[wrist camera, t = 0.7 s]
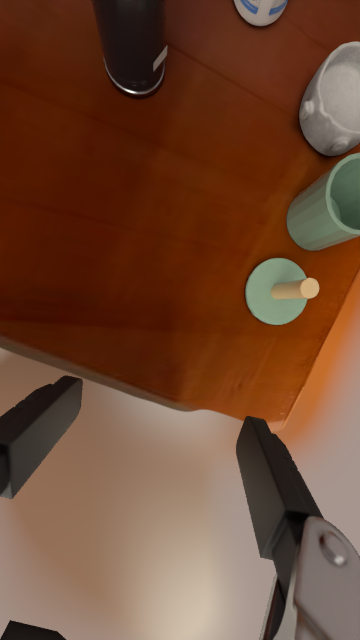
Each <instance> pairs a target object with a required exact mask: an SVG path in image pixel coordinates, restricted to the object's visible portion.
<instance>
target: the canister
mask: <svg viewBox="0 0 360 640" xmlns="http://www.w3.org/2000/svg"><path fill="white" fill-rule="evenodd" d="M287 228H288V231H289V234H290V236H291V238H292V239H293V241H294V242H295V243H296V244H297V245H298V246H300V247H302V248H304V249H306V250H311V251H317V250H321V249H325V248H328V247H331V246H334V245H337V244H340V243H342V242H345V241H348V240H351V239H354V238H357V237H360V153H357V154H352V155H349V156H347V157H346V158H344V159H343V160H341V161H339V162H338V163H337V164H336V165H334V166H333V167H332V168H331V169H329V170H328V171H327V172H326V173H324V174H323V175H322V176H321V177H319V178H318V179H317V180H316V181H314V182H313V183H312V184H311V185H309V186H308V187H307V188H306V189H304V190H303V191H302V192H301V193H299V194H298V195H297V196H296V197H295V198H294V200H293V201H292V203H291V204H290V206H289V209H288V213H287Z"/></svg>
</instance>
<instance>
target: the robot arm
mask: <svg viewBox="0 0 360 640" xmlns="http://www.w3.org/2000/svg"><path fill="white" fill-rule="evenodd" d="M92 4H93V9H94V14H95V18H96V23H97V27H98V32H99V37H100V41H101V46H102V50H103V55H104V62H105V67H106V71H107V74H108V77H109V79H110V80H111V82H112V83H113V85H114V86H115V87H116V88H117V89H118V90H119V91H120V92H122V93H123V94H125V95H127V96H130V97H134V98H144V97H148V96H150V95H152V94H153V93H155V92H156V91H157V90H158V89H159V87H160V86H161V84H162V81H163V78H164V67H165V62H164V58H165V57H166V55H167V46H166V48H165V49H164V40H165V0H92ZM82 384H83V381H82V379H80V378H75V377H71V376H63V377H62V378H60V379H59V380H58V381H57V382H56V383H55V384H48V385H45V386H43V387H41V388H39V389H36V390H35V391H34V392H32V393H31V394H30V395H28V396H27V397H26V398H25V399H24V400H22V401H21V402H19V403H18V404H17V405H16V406H15V407H13V408H11V409H10V410H9V411H8V412H6V413H5V414H4V415H2V416H1V417H0V496H1V497H5V498H9V499H13V498H14V496H15V495H16V494H17V492H18V491H19V490H20V489H21V487H22V486H23V485H24V484H25V482H26V481H27V480H28V479H29V477H30V476H31V475H32V473H33V472H34V471H35V470H36V468H37V467H38V466H39V465H40V463H41V462H42V461H43V460H44V458H45V457H46V456H47V454H48V453H49V452H50V451H51V449H52V448H53V447H54V446H55V444H56V443H57V442H58V440H59V439H60V438H61V437H62V435H63V434H64V433H65V432H66V430H67V429H68V428H69V426H70V425H71V424H72V423H73V421H74V420H75V419H76V417H77V415H78V413H79V411H80V407H81V397H82ZM236 455H237V459H238V463H239V468H240V472H241V476H242V480H243V485H244V489H245V493H246V497H247V502H248V506H249V511H250V514H251V519H252V523H253V528H254V532H255V536H256V540H257V544H258V549H259V553H260V557H261V558H266V559H270V560H273V561H274V565H275V568H276V572H277V573H276V574H275V577H274V580H273V584H272V588H271V592H270V597H269V601H268V605H267V609H266V613H265V617H264V621H263V626H262V630H261V634H260V638H259V640H360V556H359V554H358V553H357V551H356V550H355V548H354V547H353V545H352V544H351V543H350V541H349V540H348V539H347V538H346V537H345V536H344V534H343V533H342V532H341V531H340V530H339V529H337V528H336V527H335V526H334V525H332V524H331V523H330V522H328V521H326V520H325V519H324V518H323V516H322V514H321V512H320V510H319V508H318V507H317V505H316V503H315V501H314V499H313V497H312V495H311V493H310V491H309V489H308V488H307V486H306V484H305V482H304V480H303V478H302V476H301V474H300V473H299V471H298V470H297V467H296V465H295V463H294V461H293V460H292V457H291V455H290V453H289V451H288V450H287V448H286V446H285V444H284V443H283V442H282V441H281V440H280V439H279V438H278V436H277V435H276V434H272V433H271V431H270V429H269V427H268V425H267V423H266V421H265V420H264V419H260V418H255V417H251V416H247V417H246V418H245V420H244V423H243V426H242V429H241V431H240V434H239V437H238V440H237V444H236ZM0 640H66V639H65V638H64V637H63V636H62V635H61V634H59V633H58V632H57V631H53V630H49V629H45V628H41V627H36V626H32V625H28V624H23V623H19V622H15V621H11V620H10V622H9V623H8V625H7V627H6V629H5V631H4V633H3V635H2V637H1V639H0Z"/></svg>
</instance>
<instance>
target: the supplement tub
mask: <svg viewBox="0 0 360 640" xmlns="http://www.w3.org/2000/svg"><path fill="white" fill-rule="evenodd" d="M234 2H235V5H236V8H237V10H238V12H239V13H240V15H241V16H242V17H243V18H244V19H245V20H246V21H247V22H249V23H250V24H253V25H255V26H266V25H268V24H271V23H273V22H274V21H276V20H277V19H278V18H279V17H280V15H281V14H282V12H283V11H284V9H285V7H286V4H287V2H288V0H234Z"/></svg>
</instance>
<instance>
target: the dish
mask: <svg viewBox="0 0 360 640" xmlns="http://www.w3.org/2000/svg"><path fill="white" fill-rule="evenodd" d="M299 118H300V125H301V129H302V131H303V134H304V136H305V137H306V139H307V141H308V142H309V143H310V144H311V145H312V146H313V147H314V148H315V149H316V150H317V151H318V152H320V153H322V154H324V155H327V156H337V155H340V154H343V153H345V152H347V151H348V150H350V149H352V148H353V147H355V146H356V145H358V144H359V143H360V42H350V43H346V44H343V45H341V46H339V47H338V48H337V49H335V50H334V51H333V52H332V53H331V54H330V55H329V56H328V57H327V58H326V60H325V61H324V62H323V63H322V65H321V66H320V67H319V69H318V70H317V72H316V73H315V75H314V77H313V78H312V80H311V82H310V83H309V85H308V87H307V89H306V91H305V94H304V96H303V99H302V102H301V106H300V111H299Z"/></svg>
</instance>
